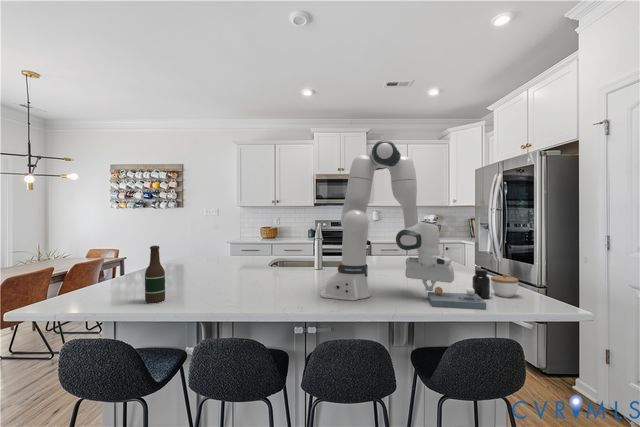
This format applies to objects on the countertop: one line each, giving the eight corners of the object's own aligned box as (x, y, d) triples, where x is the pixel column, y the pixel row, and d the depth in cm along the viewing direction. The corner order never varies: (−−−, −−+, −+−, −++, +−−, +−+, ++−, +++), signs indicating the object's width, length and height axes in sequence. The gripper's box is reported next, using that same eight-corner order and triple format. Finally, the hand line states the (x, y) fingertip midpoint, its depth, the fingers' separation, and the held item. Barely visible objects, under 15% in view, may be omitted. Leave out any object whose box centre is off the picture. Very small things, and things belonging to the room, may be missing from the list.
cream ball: (467, 295, 135) (467, 288, 135) (465, 293, 138) (465, 286, 138) (475, 296, 134) (475, 288, 134) (473, 294, 137) (473, 286, 137)
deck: (431, 306, 128) (431, 300, 128) (427, 297, 142) (427, 291, 142) (486, 309, 124) (486, 302, 124) (476, 299, 138) (476, 293, 138)
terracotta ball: (435, 295, 136) (435, 287, 136) (434, 293, 139) (434, 286, 139) (443, 295, 135) (443, 288, 135) (441, 293, 138) (441, 286, 138)
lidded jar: (492, 297, 142) (492, 276, 142) (489, 291, 152) (489, 271, 152) (520, 299, 138) (520, 277, 138) (516, 293, 148) (516, 273, 148)
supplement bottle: (492, 299, 138) (491, 271, 138) (474, 298, 139) (474, 271, 139) (487, 295, 145) (486, 268, 145) (470, 294, 146) (470, 268, 146)
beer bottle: (169, 300, 141) (168, 245, 141) (153, 305, 134) (152, 247, 134) (156, 298, 144) (156, 244, 144) (140, 302, 137) (140, 246, 137)
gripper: (403, 257, 143) (403, 288, 143) (451, 261, 131) (451, 295, 131) (408, 256, 148) (408, 286, 148) (455, 259, 136) (455, 292, 136)
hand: (429, 290), depth 140 cm, fingers closed
